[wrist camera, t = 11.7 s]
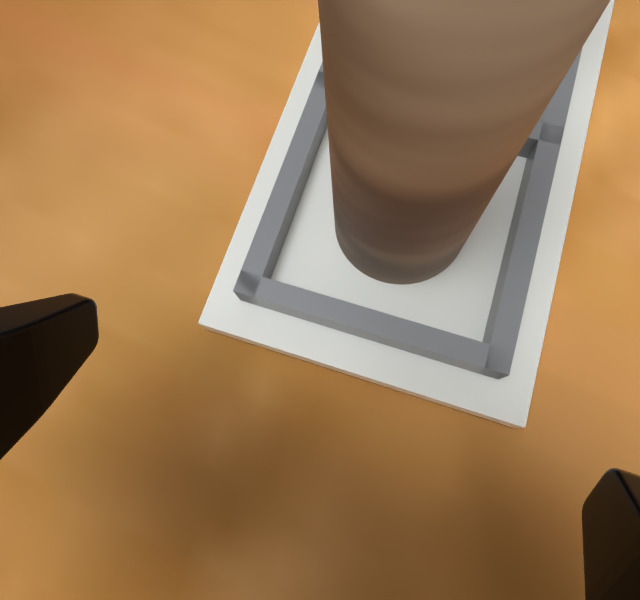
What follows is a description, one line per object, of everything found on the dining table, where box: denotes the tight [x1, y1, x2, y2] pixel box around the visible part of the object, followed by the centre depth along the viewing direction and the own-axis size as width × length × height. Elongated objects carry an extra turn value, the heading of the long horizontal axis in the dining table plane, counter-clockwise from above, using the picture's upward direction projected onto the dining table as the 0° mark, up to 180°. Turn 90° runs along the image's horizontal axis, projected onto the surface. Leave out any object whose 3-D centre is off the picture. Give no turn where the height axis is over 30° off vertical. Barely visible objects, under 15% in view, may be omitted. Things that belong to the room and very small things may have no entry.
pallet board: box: [198, 0, 615, 428], centre depth 19 cm, size 21×12×2 cm, turn 162°
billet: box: [318, 0, 610, 285], centre depth 11 cm, size 5×5×14 cm
